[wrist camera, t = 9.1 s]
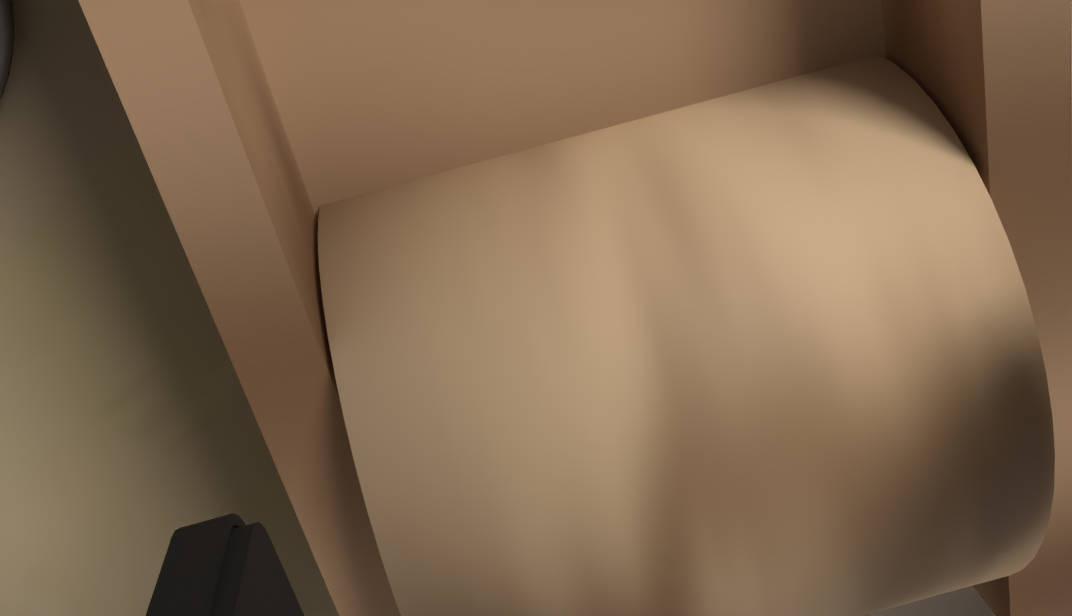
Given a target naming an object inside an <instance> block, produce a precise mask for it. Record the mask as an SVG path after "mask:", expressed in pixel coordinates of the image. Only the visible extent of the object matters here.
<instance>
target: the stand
mask: <svg viewBox="0 0 1072 616" xmlns="http://www.w3.org/2000/svg"><path fill="white" fill-rule="evenodd" d="M12 52H13V19H12V10H11V1H10V0H0V97H1V95H2V92H3V89H4V86H5V83H6V80H7V77H8V74H9V70H10V64H11V58H12Z"/></svg>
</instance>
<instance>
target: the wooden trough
mask: <svg viewBox="0 0 1072 616" xmlns="http://www.w3.org/2000/svg"><path fill="white" fill-rule="evenodd" d="M78 1H79V3H80V6H81V8H82V10H83V13H84V15H85V17H86V20H87V22H88V24H89V27H90V29H91V32H92V34H93V36H94V39H95V41H96V43H97V46H98V48H99V50H100V53H101V55H102V58H103V60H104V62H105V65H106V67H107V69H108V72H109V74H110V76H111V79H112V81H113V83H114V86H115V88H116V91H117V93H118V95H119V98H120V100H121V102H122V105H123V107H124V109H125V112H126V114H127V117H128V119H129V121H130V124H131V126H132V128H133V131H134V133H135V135H136V138H137V140H138V142H139V145H140V147H141V150H142V152H143V154H144V157H145V159H146V161H147V164H148V166H149V168H150V171H151V173H152V176H153V178H154V180H155V183H156V185H157V187H158V190H159V192H160V194H161V197H162V199H163V201H164V204H165V206H166V209H167V211H168V213H169V216H170V218H171V220H172V223H173V225H174V227H175V230H176V232H177V235H178V237H179V239H180V242H181V244H182V246H183V249H184V251H185V253H186V256H187V258H188V260H189V263H190V265H191V268H192V270H193V272H194V275H195V277H196V279H197V282H198V284H199V286H200V289H201V291H202V294H203V296H204V298H205V301H206V303H207V305H208V308H209V310H210V312H211V315H212V317H213V319H214V322H215V324H216V327H217V329H218V331H219V334H220V336H221V338H222V341H223V343H224V345H225V348H226V350H227V353H228V355H229V357H230V360H231V362H232V364H233V367H234V369H235V371H236V374H237V376H238V378H239V381H240V383H241V386H242V388H243V390H244V393H245V395H246V397H247V400H248V402H249V404H250V407H251V409H252V412H253V414H254V416H255V419H256V421H257V423H258V426H259V428H260V430H261V433H262V435H263V437H264V440H265V442H266V445H267V447H268V449H269V452H270V454H271V456H272V459H273V461H274V463H275V466H276V468H277V471H278V473H279V475H280V478H281V480H282V482H283V485H284V487H285V489H286V492H287V494H288V496H289V499H290V501H291V504H292V506H293V508H294V511H295V513H296V515H297V518H298V520H299V522H300V525H301V527H302V530H303V532H304V534H305V537H306V539H307V541H308V544H309V546H310V548H311V551H312V553H313V555H314V558H315V560H316V563H317V565H318V567H319V570H320V572H321V574H322V577H323V579H324V581H325V584H326V586H327V589H328V591H329V593H330V596H331V598H332V600H333V603H334V605H335V607H336V610H337V612H338V614H339V616H864V615H868V614H871V613H875V612H879V611H882V610H886V609H889V608H893V607H897V606H900V605H904V604H908V603H911V602H915V601H919V600H922V599H926V598H929V597H933V596H937V595H940V594H944V593H948V592H951V591H955V590H959V589H962V588H966V587H970V586H974V587H975V588H976V590H977V591H978V592H979V594H980V595H981V596H982V598H983V599H984V600H985V601H986V603H987V604H988V605H989V607H990V608H991V609H992V611H993V612H994V613H995V614H996V616H1072V111H1071V21H1070V0H78Z"/></svg>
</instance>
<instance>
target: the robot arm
mask: <svg viewBox="0 0 1072 616" xmlns="http://www.w3.org/2000/svg"><path fill="white" fill-rule="evenodd" d="M146 616H304V614H303V612H302V610H301V607H300V605H299V603H298V601H297V598H296V596H295V594H294V592H293V589H292V587H291V585H290V583H289V580H288V578H287V576H286V574H285V571H284V569H283V567H282V565H281V562H280V560H279V558H278V556H277V553H276V551H275V549H274V547H273V544H272V542H271V540H270V537H269V535H268V533H267V531H266V530H265V528H264V527H263V525H262V524H261V523H258V522H257V523H253V524H249V525H245V523H244V521H243V520H242V519H241V518H240V517H239V516H238V515H236V514H229V515H226V516H222V517H218V518H215V519H211V520H207V521H204V522H200V523H196V524H193V525H189V526H185V527H182V528H179V529H177V530H175V532H174V534H173V536H172V538H171V541H170V544H169V547H168V550H167V553H166V556H165V559H164V562H163V565H162V568H161V571H160V574H159V577H158V580H157V583H156V586H155V589H154V592H153V595H152V598H151V601H150V604H149V607H148V611H147V614H146Z"/></svg>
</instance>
